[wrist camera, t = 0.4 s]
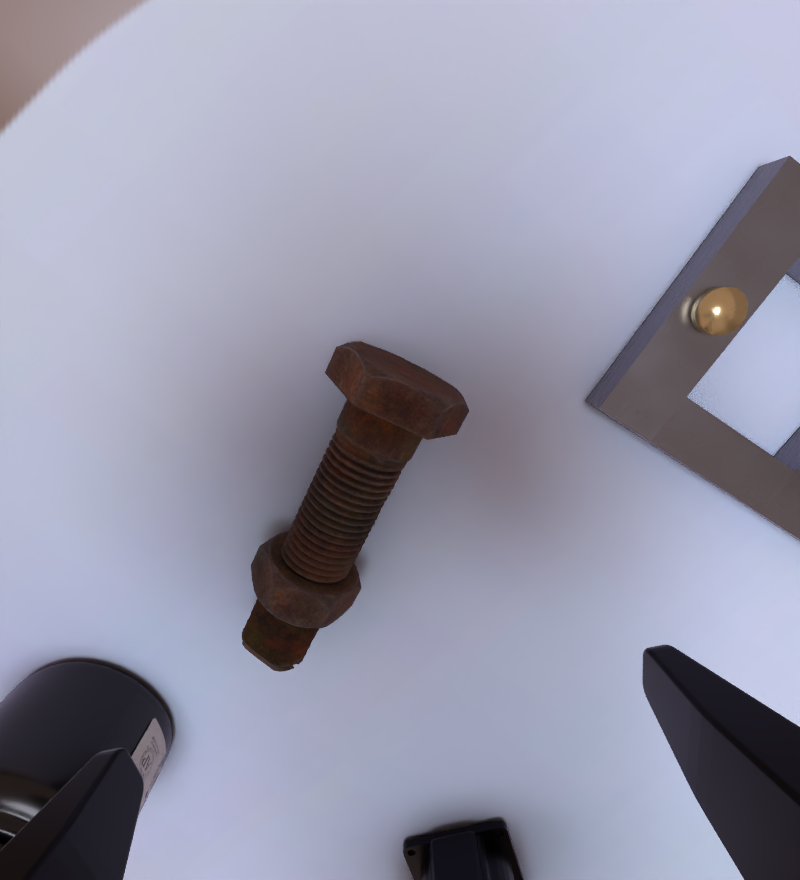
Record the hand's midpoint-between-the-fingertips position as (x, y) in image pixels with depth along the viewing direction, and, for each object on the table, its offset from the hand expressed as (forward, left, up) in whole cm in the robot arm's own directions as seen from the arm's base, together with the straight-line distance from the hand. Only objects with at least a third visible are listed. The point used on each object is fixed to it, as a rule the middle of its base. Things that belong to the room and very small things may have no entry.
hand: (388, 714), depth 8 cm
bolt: (-2, +3, -15) cm, 15 cm away
